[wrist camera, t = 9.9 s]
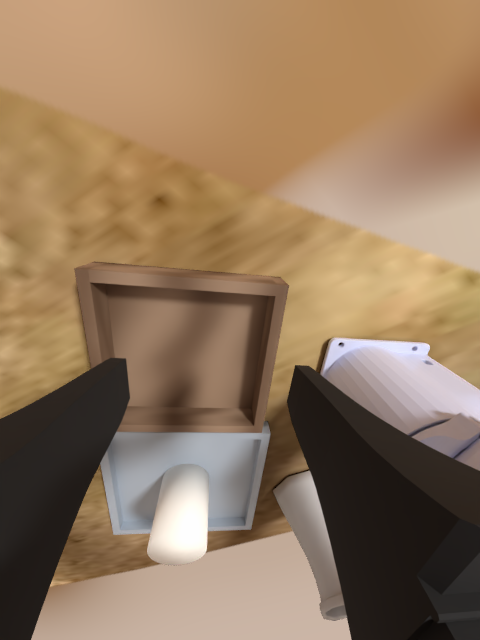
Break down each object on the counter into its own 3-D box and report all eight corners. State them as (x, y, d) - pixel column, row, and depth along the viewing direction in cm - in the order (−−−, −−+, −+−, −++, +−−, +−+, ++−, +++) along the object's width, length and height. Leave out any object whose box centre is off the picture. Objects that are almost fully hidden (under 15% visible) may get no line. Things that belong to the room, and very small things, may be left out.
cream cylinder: (205, 460, 25) (201, 529, 19) (212, 490, 27) (210, 560, 21) (157, 467, 25) (140, 538, 19) (168, 496, 27) (154, 569, 21)
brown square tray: (280, 277, 18) (288, 285, 16) (257, 412, 24) (261, 432, 21) (94, 261, 17) (74, 268, 14) (114, 409, 22) (101, 431, 20)
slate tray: (267, 421, 24) (270, 433, 23) (249, 515, 30) (251, 529, 29) (102, 419, 22) (94, 432, 21) (118, 519, 28) (113, 534, 27)
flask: (292, 513, 31) (323, 637, 22) (261, 488, 28) (281, 616, 19) (341, 489, 30) (394, 609, 21) (313, 460, 27) (361, 583, 18)
